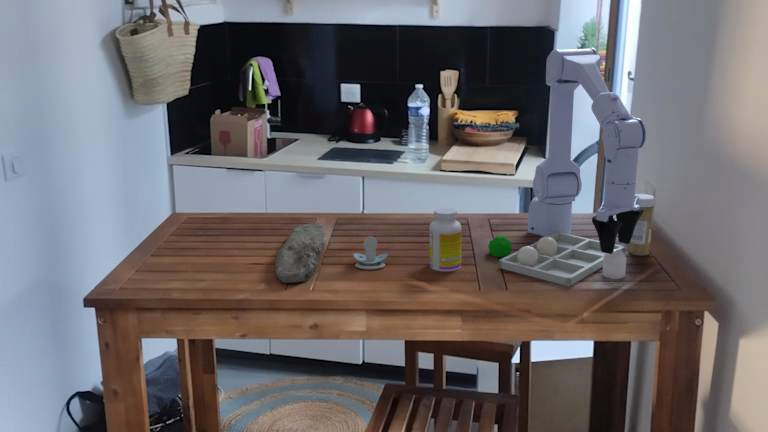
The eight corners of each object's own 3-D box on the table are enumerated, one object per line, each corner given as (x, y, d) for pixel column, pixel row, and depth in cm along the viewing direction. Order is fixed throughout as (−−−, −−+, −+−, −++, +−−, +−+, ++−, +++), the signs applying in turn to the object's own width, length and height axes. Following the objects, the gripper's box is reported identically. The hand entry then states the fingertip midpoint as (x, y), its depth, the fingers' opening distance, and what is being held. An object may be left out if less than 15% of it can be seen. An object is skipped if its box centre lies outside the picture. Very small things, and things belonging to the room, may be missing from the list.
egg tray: (498, 271, 164) (498, 260, 163) (556, 241, 181) (557, 231, 180) (569, 290, 153) (569, 278, 153) (624, 257, 170) (625, 246, 170)
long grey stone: (331, 238, 191) (291, 240, 192) (330, 217, 190) (289, 219, 190) (318, 284, 157) (268, 287, 158) (316, 259, 156) (266, 262, 156)
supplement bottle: (467, 268, 165) (468, 210, 162) (447, 277, 161) (447, 217, 157) (443, 261, 170) (443, 204, 166) (422, 269, 165) (422, 210, 162)
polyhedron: (505, 263, 168) (506, 242, 167) (484, 259, 171) (485, 238, 169) (514, 256, 172) (515, 235, 171) (494, 252, 175) (494, 232, 173)
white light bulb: (598, 279, 159) (600, 250, 157) (608, 273, 162) (610, 244, 160) (618, 284, 156) (620, 254, 154) (628, 278, 159) (630, 249, 157)
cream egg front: (512, 267, 164) (513, 247, 162) (523, 261, 167) (524, 241, 165) (530, 271, 161) (531, 251, 160) (542, 265, 164) (542, 245, 163)
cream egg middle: (532, 257, 169) (533, 237, 168) (542, 251, 172) (543, 232, 171) (550, 261, 166) (551, 241, 165) (560, 256, 170) (561, 236, 168)
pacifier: (386, 272, 165) (388, 261, 171) (385, 244, 163) (388, 234, 169) (351, 271, 166) (355, 260, 171) (350, 243, 164) (354, 233, 169)
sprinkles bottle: (654, 256, 171) (659, 196, 167) (640, 260, 168) (645, 200, 164) (636, 250, 174) (641, 192, 170) (623, 254, 172) (627, 195, 168)
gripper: (623, 192, 145) (618, 261, 149) (655, 177, 155) (650, 242, 159) (588, 186, 150) (584, 253, 154) (622, 172, 160) (617, 235, 164)
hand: (615, 247), depth 157 cm, fingers open, 7 cm apart
